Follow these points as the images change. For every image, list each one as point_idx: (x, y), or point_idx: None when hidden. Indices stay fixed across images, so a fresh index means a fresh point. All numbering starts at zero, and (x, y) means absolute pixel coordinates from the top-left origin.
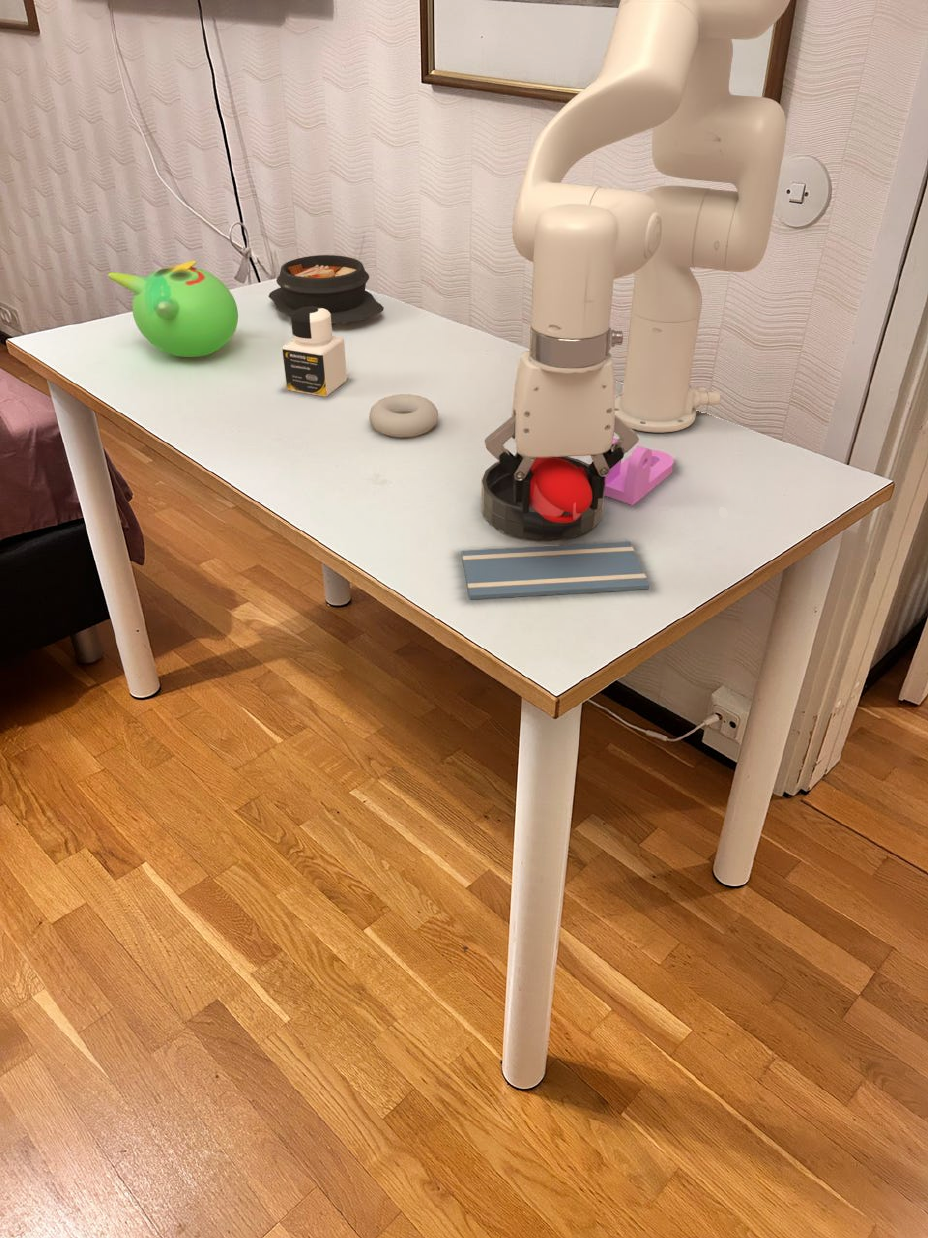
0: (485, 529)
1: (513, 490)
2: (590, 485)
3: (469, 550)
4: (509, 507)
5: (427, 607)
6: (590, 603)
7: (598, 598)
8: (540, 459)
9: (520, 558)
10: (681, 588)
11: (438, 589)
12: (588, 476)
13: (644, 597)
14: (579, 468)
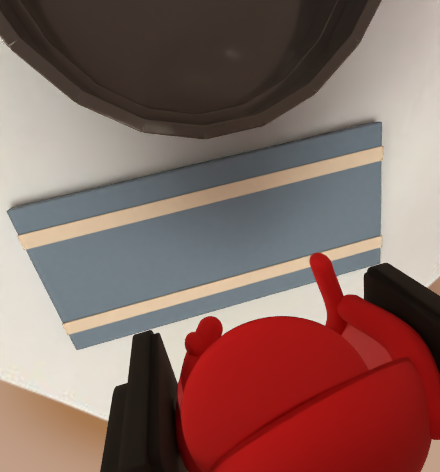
0: (35, 75)
1: (112, 405)
2: None
3: (25, 207)
4: (90, 109)
5: (8, 376)
6: (281, 310)
7: (294, 296)
8: (239, 391)
9: (153, 221)
10: (422, 247)
11: (7, 328)
12: (435, 347)
13: (363, 280)
14: (435, 437)
